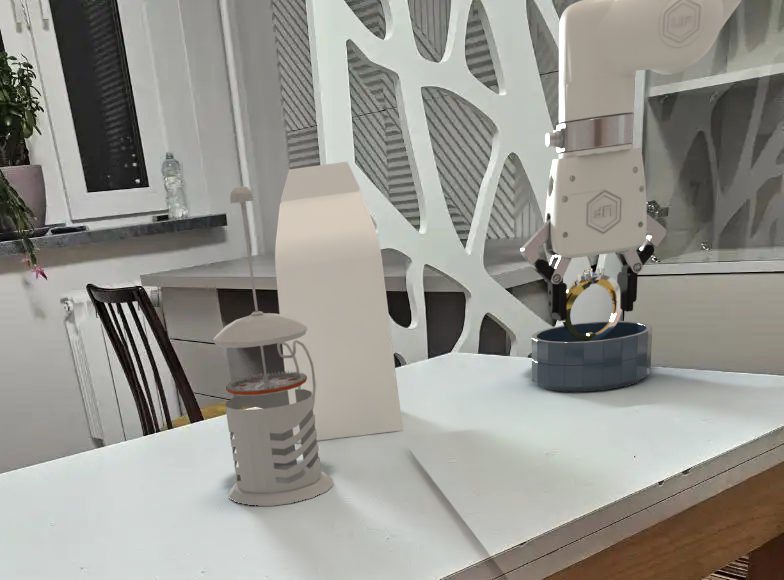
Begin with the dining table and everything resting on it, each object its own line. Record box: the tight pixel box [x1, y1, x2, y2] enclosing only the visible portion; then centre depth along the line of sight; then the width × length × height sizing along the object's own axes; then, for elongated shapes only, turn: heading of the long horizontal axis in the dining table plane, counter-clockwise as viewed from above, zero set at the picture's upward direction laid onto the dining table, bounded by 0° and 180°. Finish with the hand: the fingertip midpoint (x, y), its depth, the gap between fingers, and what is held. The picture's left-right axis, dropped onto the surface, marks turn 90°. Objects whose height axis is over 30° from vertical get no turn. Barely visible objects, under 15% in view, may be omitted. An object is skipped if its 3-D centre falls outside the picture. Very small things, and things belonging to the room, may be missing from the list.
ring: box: [562, 267, 623, 341], centre depth 103 cm, size 7×3×8 cm, turn 96°
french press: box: [212, 185, 334, 507], centre depth 78 cm, size 10×12×25 cm
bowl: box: [531, 320, 653, 393], centre depth 106 cm, size 13×13×6 cm
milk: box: [274, 161, 404, 444], centre depth 96 cm, size 12×12×26 cm
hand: (591, 313), depth 104 cm, fingers closed on ring, 7 cm apart
